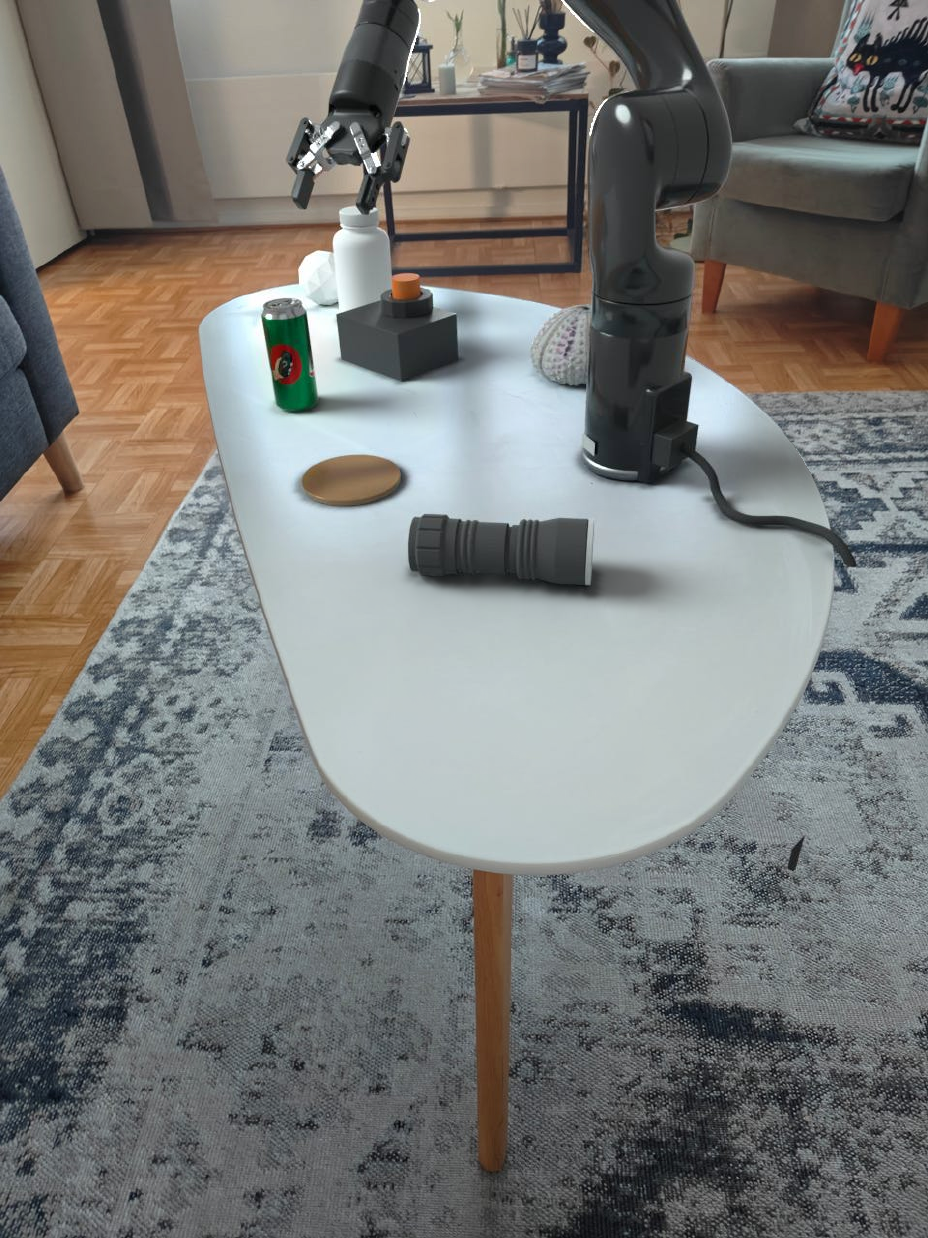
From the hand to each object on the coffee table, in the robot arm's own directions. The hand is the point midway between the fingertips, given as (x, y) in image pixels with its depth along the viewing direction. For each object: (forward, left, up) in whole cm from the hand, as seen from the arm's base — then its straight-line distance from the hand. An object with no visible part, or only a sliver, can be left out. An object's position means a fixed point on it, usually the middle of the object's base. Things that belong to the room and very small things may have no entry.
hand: (329, 207), depth 104 cm
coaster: (-24, +19, -20) cm, 36 cm away
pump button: (-2, -9, -12) cm, 15 cm away
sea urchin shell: (-23, -19, -20) cm, 36 cm away
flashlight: (-47, +21, -20) cm, 55 cm away
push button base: (-2, -7, -20) cm, 21 cm away
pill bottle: (+14, -15, -20) cm, 29 cm away
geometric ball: (+25, -16, -20) cm, 36 cm away
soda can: (-4, +11, -20) cm, 23 cm away
